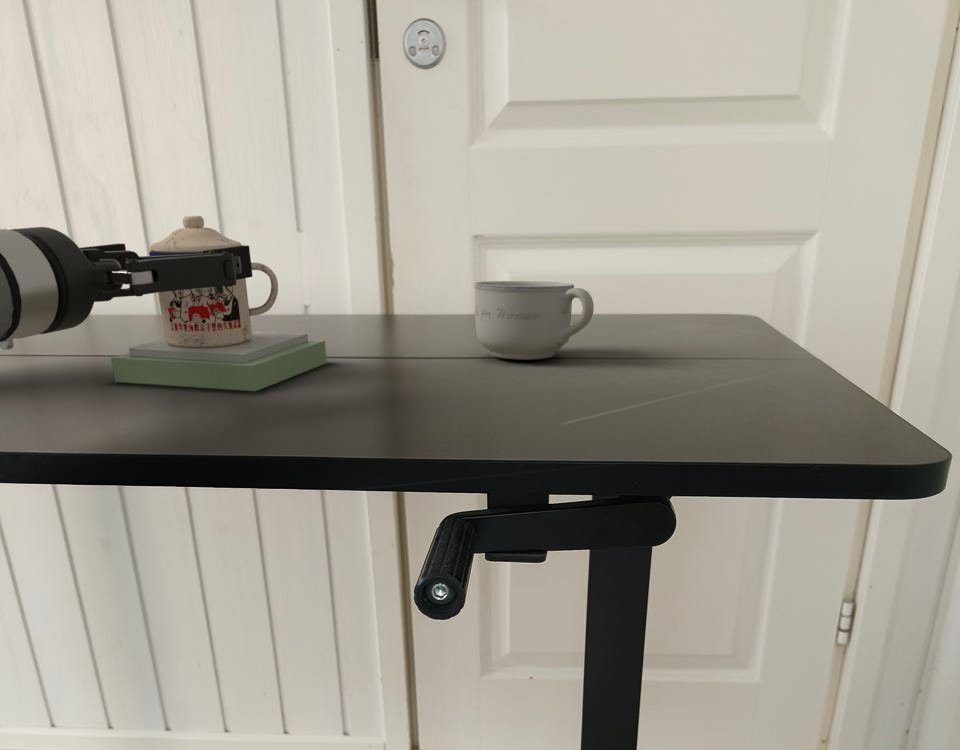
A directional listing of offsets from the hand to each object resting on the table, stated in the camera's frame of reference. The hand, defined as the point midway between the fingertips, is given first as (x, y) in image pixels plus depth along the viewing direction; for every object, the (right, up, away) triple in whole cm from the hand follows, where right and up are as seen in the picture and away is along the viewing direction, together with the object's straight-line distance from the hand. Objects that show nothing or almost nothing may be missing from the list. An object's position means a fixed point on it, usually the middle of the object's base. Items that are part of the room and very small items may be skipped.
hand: (184, 259), depth 87 cm
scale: (+1, -8, +9) cm, 12 cm away
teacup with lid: (+2, -6, +7) cm, 9 cm away
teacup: (+34, -5, +14) cm, 37 cm away
